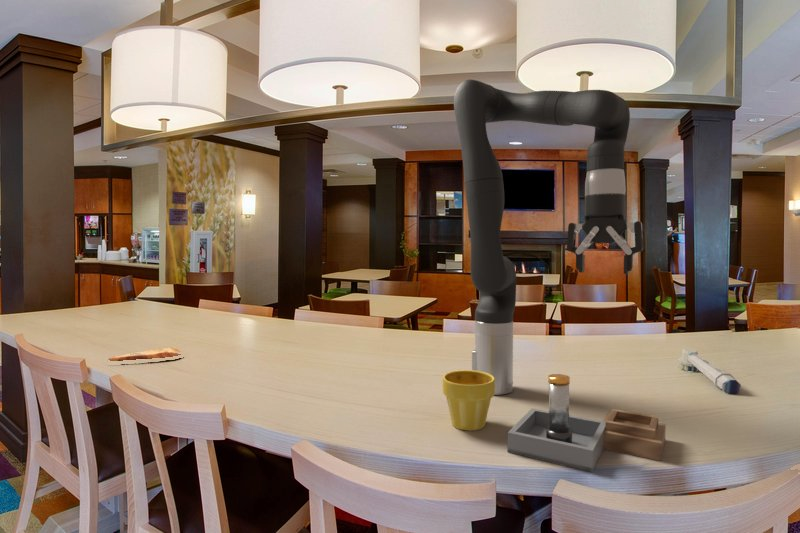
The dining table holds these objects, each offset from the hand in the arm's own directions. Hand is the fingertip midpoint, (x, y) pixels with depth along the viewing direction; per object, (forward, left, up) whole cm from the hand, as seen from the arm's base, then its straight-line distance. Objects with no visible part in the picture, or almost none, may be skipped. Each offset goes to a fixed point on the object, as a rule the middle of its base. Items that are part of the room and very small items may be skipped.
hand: (603, 273), depth 98 cm
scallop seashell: (-130, -22, -31) cm, 136 cm away
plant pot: (-22, -18, -30) cm, 42 cm away
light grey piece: (+19, +43, -31) cm, 56 cm away
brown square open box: (+7, -11, -30) cm, 33 cm away
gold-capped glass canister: (-4, -19, -30) cm, 35 cm away
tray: (-4, -19, -30) cm, 36 cm away
